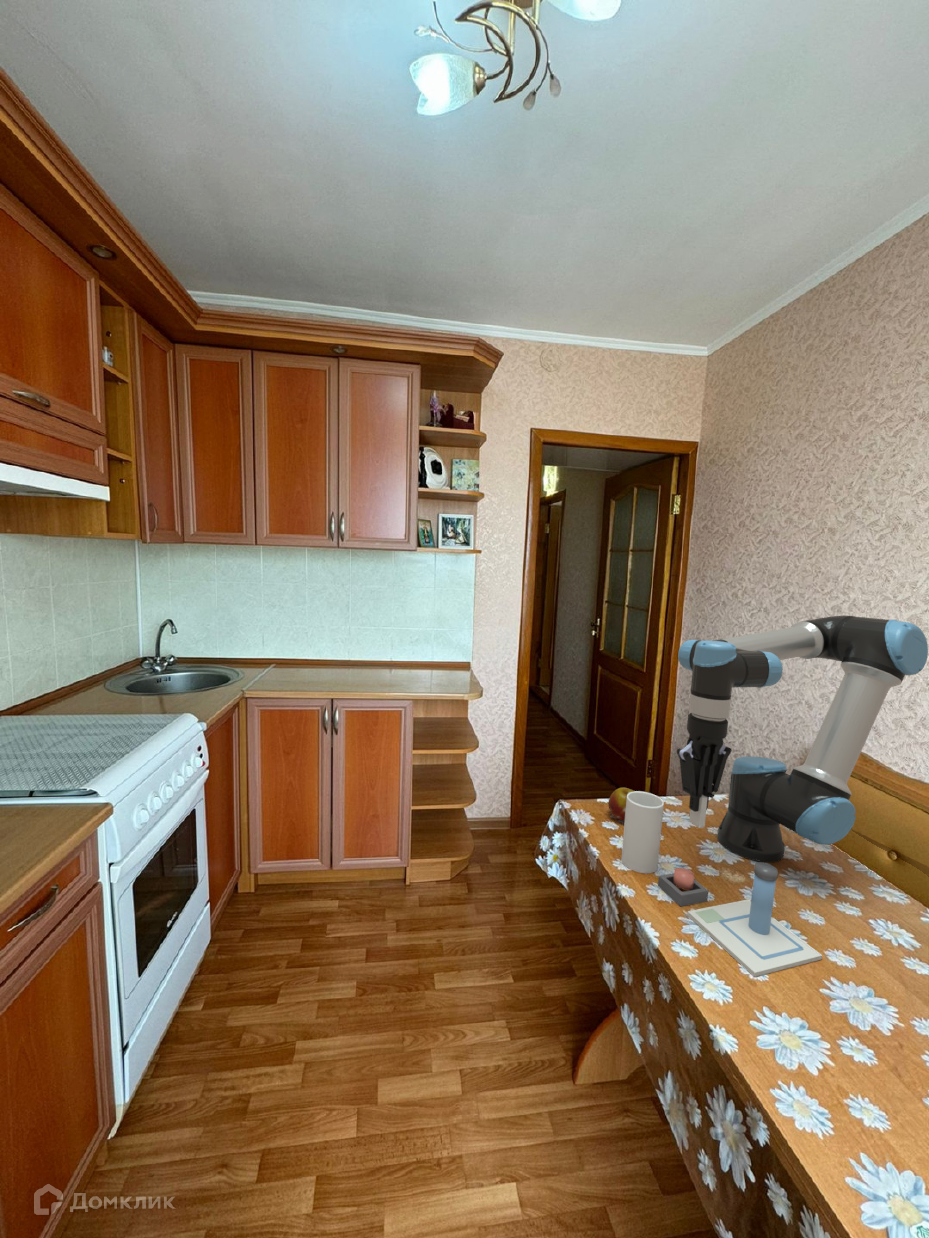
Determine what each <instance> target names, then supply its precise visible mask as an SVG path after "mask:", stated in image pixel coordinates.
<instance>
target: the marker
mask: <svg viewBox="0 0 929 1238" xmlns="http://www.w3.org/2000/svg"><path fill="white" fill-rule="evenodd" d="M753 869H754V870H753V873H754V875H753V884H752V890H751V899H750V901H751V907H750V915H749V924H748V926H749V928H750V929H751V930H753V931H754V932H756V933H758V934H761V935H768V934H769V933H770V925H771V917H772V916H773V909H774V900H775V892H776V884H777V880H778V872H779V871H778V869H777V867H775V866H773V865H772V864H769V863H768V862H761V861H756V862H755V864H754V867H753Z"/></svg>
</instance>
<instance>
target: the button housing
mask: <svg viewBox="0 0 929 1238" xmlns="http://www.w3.org/2000/svg"><path fill="white" fill-rule="evenodd" d="M673 878H674V872H673V873H672V872H671V873H667V874H660V875H658V882H657V887H659V888H660V889H661V890H662V891H663V892H664V893H665V894H666V895H667V896H668V897H669V898H670V899H672V900H673V901H674V902H675V903H676V904H677V905H678V906H679V907H684V906H689V905H695V904H701V903H705V902H708V901H709V900H708V899H709V890H708V889H707V888H706V887H705V886H703V885H702V884H701V883H700V882H698V881H697V880H696V879H695V878H694V884H693V888H692V889H691V890H685V891H681V890H680V888H679V887H677V886H676V885H675V884H674V883H673Z"/></svg>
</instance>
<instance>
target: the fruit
mask: <svg viewBox="0 0 929 1238" xmlns="http://www.w3.org/2000/svg"><path fill="white" fill-rule="evenodd" d="M634 791H635V790H633V789H632V788H631V789H630V788H627V787H619V788H617V789H615V790H614V791H613V792H612V793H611V794H610V795H609V798H608V799H609V800H608V809H609V812H610V813H611V815H612V816H613V817H614V818H616V819H617V820H619V821H623V822H625V812H626V801H627V794H628V793H630V792H634Z"/></svg>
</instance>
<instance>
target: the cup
mask: <svg viewBox="0 0 929 1238" xmlns="http://www.w3.org/2000/svg"><path fill="white" fill-rule="evenodd" d="M633 791H634V792H630V793H628V794H627V801H626V812H625V821H624V824H623V825H624V826H623V833H622V834H623V835H622V847H621V848H622V849H621V858H620V859H621V862H622V864H623V865H624V867H626V868H627V869H629V870H631V871H632V872H633V871H634V872H636V873H641V874H653V873H655V872H656V871H658V868H659V857H660V849H661V848H660V847H661V836H662V835H661V834H662V828H663V816H664V803H665V802H664V800H663V799H662V798H661V797H659V795H655V794H653V793H651V792H647V791H641V790H638V791H637V790H636V791H635V790H633Z"/></svg>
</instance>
